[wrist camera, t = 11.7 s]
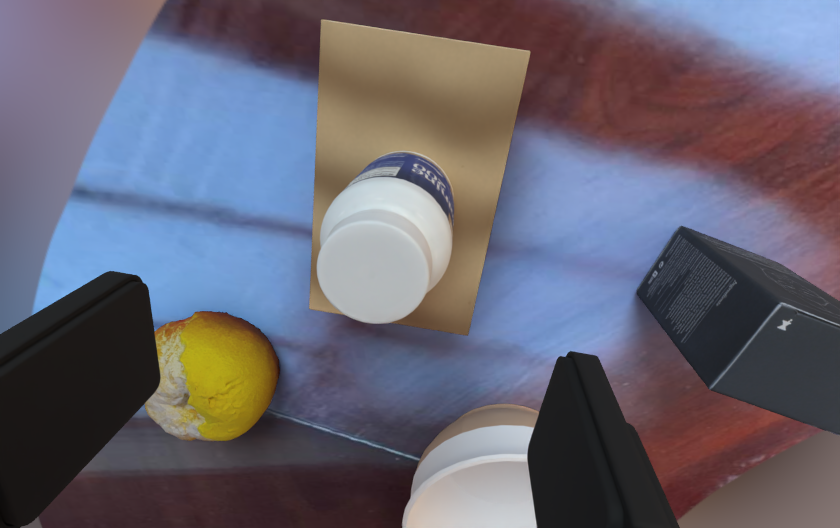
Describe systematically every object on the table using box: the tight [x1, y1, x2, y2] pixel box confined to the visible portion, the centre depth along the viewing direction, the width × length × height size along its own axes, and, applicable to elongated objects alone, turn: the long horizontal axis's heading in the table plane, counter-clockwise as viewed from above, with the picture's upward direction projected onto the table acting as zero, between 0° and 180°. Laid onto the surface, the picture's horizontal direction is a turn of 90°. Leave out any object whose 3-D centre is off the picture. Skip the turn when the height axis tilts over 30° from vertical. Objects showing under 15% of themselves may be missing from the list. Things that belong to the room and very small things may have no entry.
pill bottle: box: [317, 151, 454, 324], centre depth 20 cm, size 5×5×10 cm
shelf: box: [309, 19, 530, 336], centre depth 27 cm, size 16×10×6 cm, turn 172°
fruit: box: [145, 311, 280, 441], centre depth 35 cm, size 11×10×8 cm
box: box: [637, 226, 840, 436], centre depth 26 cm, size 8×6×11 cm
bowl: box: [402, 404, 539, 528], centre depth 35 cm, size 16×16×8 cm
